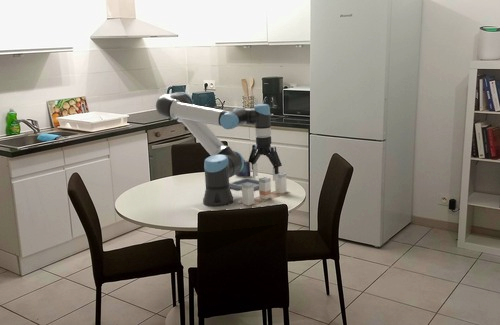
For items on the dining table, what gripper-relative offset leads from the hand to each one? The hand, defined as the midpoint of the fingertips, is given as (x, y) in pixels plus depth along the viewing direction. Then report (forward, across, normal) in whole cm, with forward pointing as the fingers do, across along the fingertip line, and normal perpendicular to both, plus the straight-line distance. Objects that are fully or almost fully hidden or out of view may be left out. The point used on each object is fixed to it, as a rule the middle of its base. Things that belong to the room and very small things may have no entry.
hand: (265, 178), depth 251 cm
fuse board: (+11, 0, 0) cm, 11 cm away
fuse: (+10, 0, +12) cm, 16 cm away
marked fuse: (+10, 0, 0) cm, 10 cm away
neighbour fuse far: (+10, 0, -12) cm, 16 cm away
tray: (+11, +22, -10) cm, 27 cm away
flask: (+11, +42, -26) cm, 51 cm away
